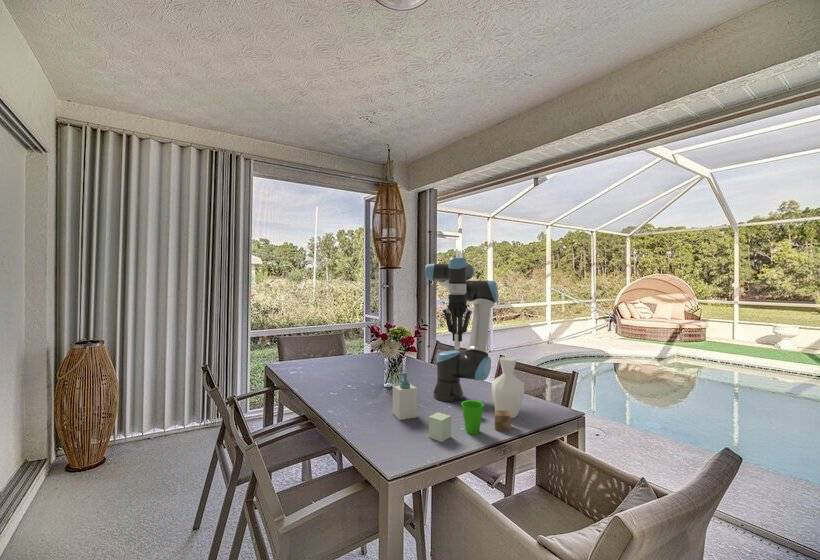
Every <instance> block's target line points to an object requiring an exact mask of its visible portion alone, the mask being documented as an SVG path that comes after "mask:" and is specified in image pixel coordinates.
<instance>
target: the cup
mask: <svg viewBox="0 0 820 560" xmlns="http://www.w3.org/2000/svg"><path fill="white" fill-rule="evenodd" d="M460 405H461V406H462V413H463V414H462V415H463V419H464V420H463V421H464V426H465V431H466V433H467V434H469V435H478V434H479V432H480V429H481V423H482V418H483V417H482V416H483V411H484V407H485V403H483V402H482V401H479V400H474V399H473V400H471V399H470V400H469V399H468V400H464V401H462V402H461V403H460Z"/></svg>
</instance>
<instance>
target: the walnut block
mask: <svg viewBox="0 0 820 560" xmlns="http://www.w3.org/2000/svg"><path fill="white" fill-rule="evenodd" d="M511 423H512V418H511V415H510V411H501V410H495V409H494V431H501V432H502V431H503V432H511V430H512V429H511V427H512V426H511V425H512V424H511Z"/></svg>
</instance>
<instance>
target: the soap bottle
mask: <svg viewBox="0 0 820 560" xmlns="http://www.w3.org/2000/svg"><path fill="white" fill-rule="evenodd" d="M408 374H410V371H405V372H397V373H395V376H402V377H403V379H402V380H401V382H400V383H399V384H398V383H397V384H393V385H392V414H393V415H394V417H396V418H397V419H398V420H399V421H403V420H408V419H414V418H418V416H419V415H418V413H419V412H418V410H419V408H418V407H419V405H418V404H419V403H418V401H419V400H418V398H419V397H418V396H419V395H418V392H419V391H418V390H419V388H418V387H417V386H415V385H414V384H412V383H411V382H409V380H408V379H407V378H408Z"/></svg>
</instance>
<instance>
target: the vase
mask: <svg viewBox="0 0 820 560" xmlns="http://www.w3.org/2000/svg"><path fill="white" fill-rule="evenodd" d="M517 359H518V358H516V357H512V356H501V357H499V363H500V367H501V370H502V374H500V375H499V376H497V377H496V378H494V379H493V380H492V381H491V396H492V401H493V405H494V411H495V410H501V411H510V415H511V419H514V418H517V417H518V415H519V412H520V410H521V407H522V405H523V401H524V396H525V383H524V382H523V381H522V380H520V379H519V378H518V377H517V376H515V375H514V370H515V366H516V364H517Z"/></svg>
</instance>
